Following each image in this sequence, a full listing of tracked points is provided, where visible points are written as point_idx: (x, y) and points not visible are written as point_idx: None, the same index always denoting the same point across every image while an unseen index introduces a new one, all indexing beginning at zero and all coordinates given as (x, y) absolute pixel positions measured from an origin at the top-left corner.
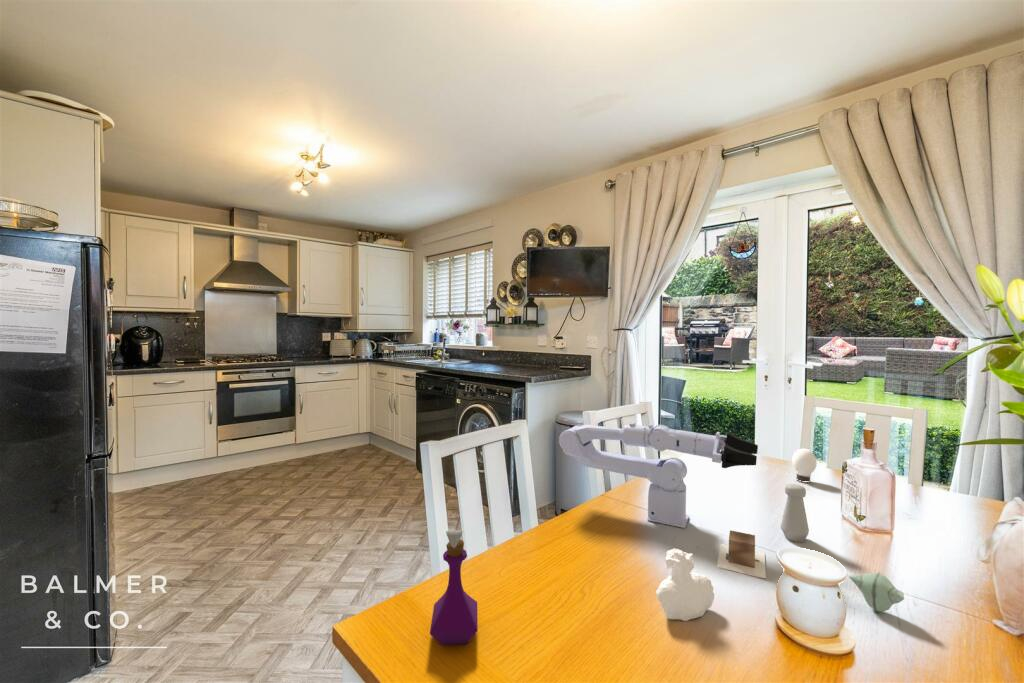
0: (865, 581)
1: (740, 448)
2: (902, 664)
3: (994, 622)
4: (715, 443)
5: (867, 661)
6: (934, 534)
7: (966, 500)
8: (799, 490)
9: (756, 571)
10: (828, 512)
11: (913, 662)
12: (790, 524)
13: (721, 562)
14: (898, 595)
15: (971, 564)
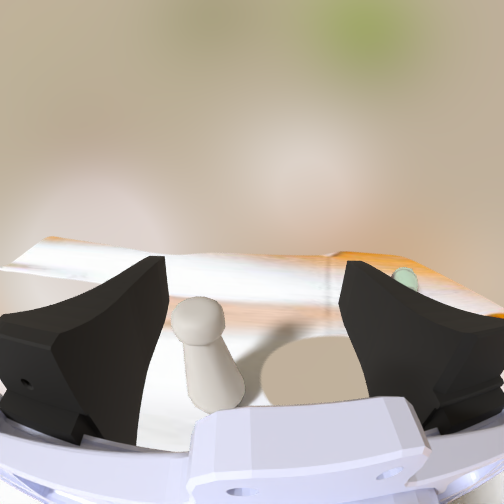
0: (416, 286)
1: (137, 354)
2: (466, 293)
3: (328, 255)
4: (478, 458)
5: (487, 307)
6: (126, 266)
7: (43, 245)
8: (220, 305)
9: None
10: None
11: (455, 289)
12: (238, 384)
13: None
14: (412, 270)
15: (198, 255)
